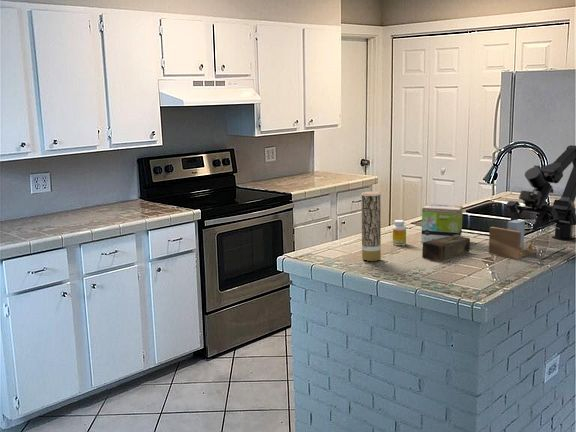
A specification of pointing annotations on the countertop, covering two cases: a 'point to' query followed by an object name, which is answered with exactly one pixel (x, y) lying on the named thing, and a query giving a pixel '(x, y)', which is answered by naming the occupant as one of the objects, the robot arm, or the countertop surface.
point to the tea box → (441, 221)
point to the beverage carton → (445, 247)
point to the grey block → (517, 228)
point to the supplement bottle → (399, 233)
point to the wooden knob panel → (507, 243)
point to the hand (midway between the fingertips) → (521, 228)
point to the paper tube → (371, 226)
